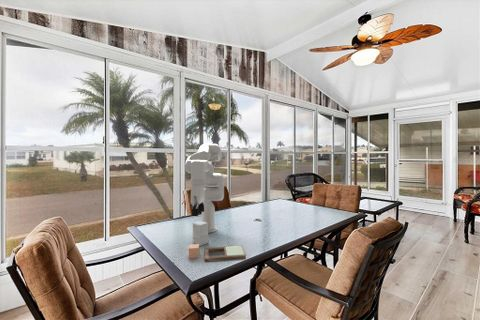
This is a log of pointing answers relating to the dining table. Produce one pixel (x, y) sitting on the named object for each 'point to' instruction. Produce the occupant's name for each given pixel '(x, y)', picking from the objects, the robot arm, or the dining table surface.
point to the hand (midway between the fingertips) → (198, 213)
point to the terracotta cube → (194, 251)
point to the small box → (200, 232)
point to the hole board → (219, 252)
